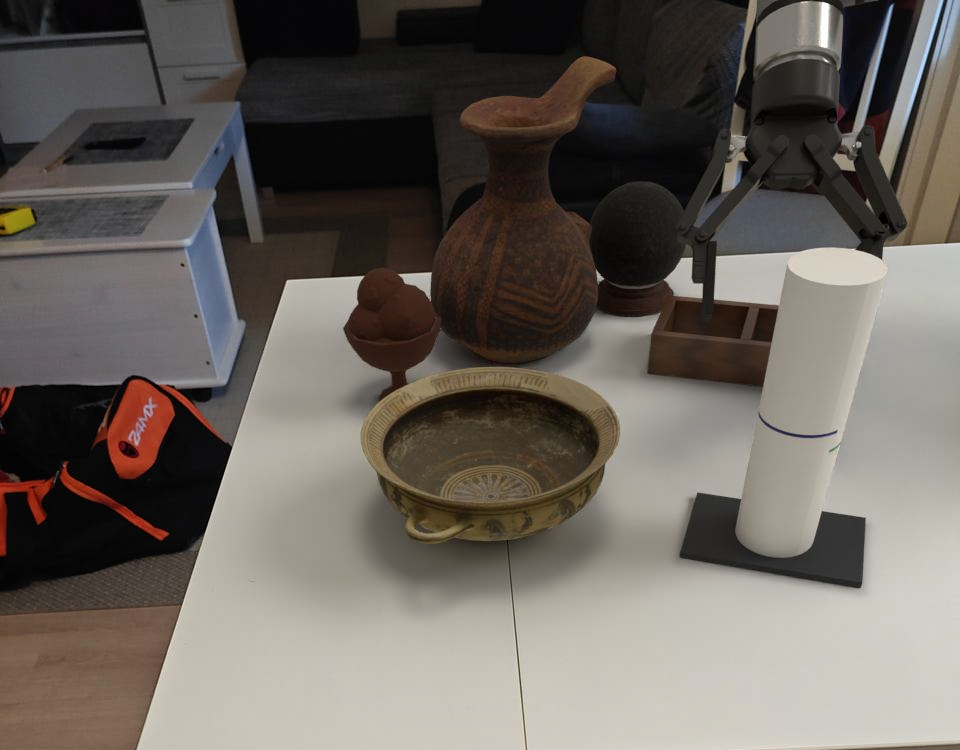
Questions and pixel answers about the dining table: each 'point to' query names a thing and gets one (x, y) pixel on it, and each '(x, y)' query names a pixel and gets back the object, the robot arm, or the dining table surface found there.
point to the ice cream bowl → (392, 325)
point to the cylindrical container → (807, 395)
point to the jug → (520, 232)
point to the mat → (825, 560)
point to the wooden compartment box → (713, 341)
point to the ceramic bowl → (489, 451)
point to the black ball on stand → (635, 248)
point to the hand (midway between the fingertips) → (782, 318)
